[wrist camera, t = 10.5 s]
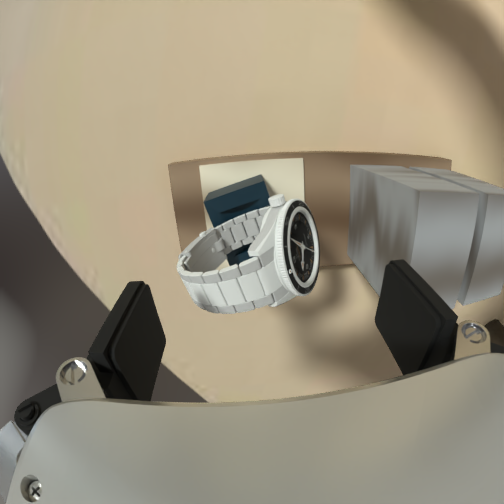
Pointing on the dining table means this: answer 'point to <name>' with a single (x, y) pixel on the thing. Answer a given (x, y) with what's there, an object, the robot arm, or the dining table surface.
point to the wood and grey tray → (370, 213)
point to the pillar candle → (496, 332)
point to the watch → (251, 250)
